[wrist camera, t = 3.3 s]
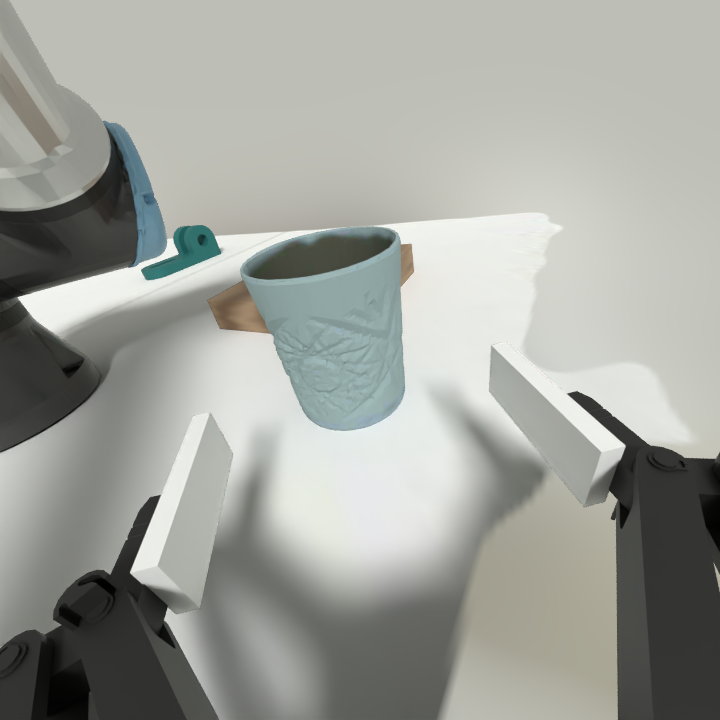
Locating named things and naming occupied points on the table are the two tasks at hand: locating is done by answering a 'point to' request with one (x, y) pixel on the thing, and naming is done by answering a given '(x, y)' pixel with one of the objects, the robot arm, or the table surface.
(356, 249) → the blue green cup
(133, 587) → the robot arm
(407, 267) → the walnut riser
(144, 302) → the table surface
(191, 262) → the bracket
